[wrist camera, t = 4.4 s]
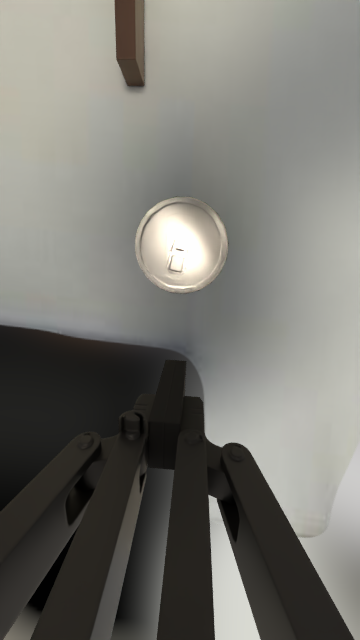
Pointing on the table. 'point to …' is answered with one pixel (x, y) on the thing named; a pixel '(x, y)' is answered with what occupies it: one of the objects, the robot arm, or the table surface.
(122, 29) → the corner
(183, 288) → the green soda can
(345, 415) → the table surface
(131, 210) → the table surface
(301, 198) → the table surface
